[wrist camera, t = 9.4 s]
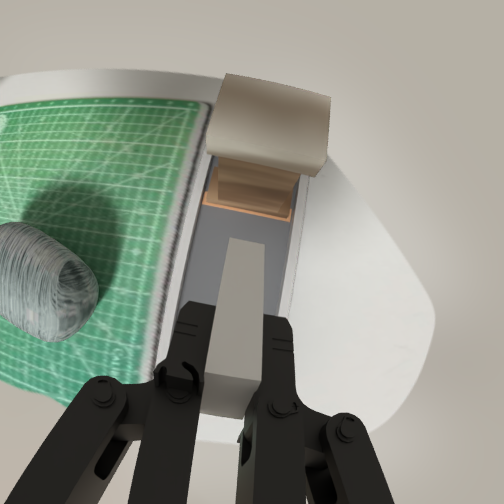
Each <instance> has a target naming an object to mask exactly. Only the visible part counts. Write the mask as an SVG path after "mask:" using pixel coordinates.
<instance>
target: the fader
mask: <svg viewBox="0 0 504 504" xmlns="http://www.w3.org/2000/svg"><path fill="white" fill-rule="evenodd" d="M330 102H331V97H328V96H325V95H321V94H318V93H314V92H311V91H307V90H303V89H299V88H295V87H291V86H287V85H283V84H278V83H274V82H269V81H265V80H260V79H255V78H250V77H245V76H239V75H233V74H226V75H225V78H224V81H223V84H222V87H221V89H220V92H219V95H218V98H217V101H216V104H215V107H214V110H213V114H212V117H211V120H210V123H209V126H208V129H207V133H206V149H207V154H209V155H214V156H218V167H215V166H214V169H213V173H212V177H211V181H210V185H209V189H208V193H207V197H206V202H208V203H214V204H219V205H224V206H229V207H234V208H239V209H244V210H248V211H253V212H258V213H263V214H267V215H272V216H277V217H281V218H286V219H287V217H288V216H289V213H290V206H291V200H292V193H293V187H294V185H295V183H296V182H297V180H298V179H299V177H300V175H301V174H303V175H307V176H311V177H315V176H316V175H317V173H318V172H319V170H320V169H321V168H322V166H323V165H324V164H325V162H326V158H327V146H328V132H329V120H330Z"/></svg>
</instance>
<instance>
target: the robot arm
mask: <svg viewBox="0 0 504 504" xmlns="http://www.w3.org/2000/svg"><path fill="white" fill-rule="evenodd" d="M264 252H265V244H260V243H255V242H250V241H245V240H240V239H235V238H229V243H228V248H227V253H226V259H225V264H224V269H223V274H222V279H221V284H220V290H219V295H218V300H217V305H216V306H214V305H209V304H204V303H199V302H194V301H188V302H187V303H186V304H185V305H184V306H183V307H182V308H181V309H180V311H179V315H178V318H177V322H176V325H175V328H174V332H173V335H172V338H171V342H170V345H169V349H168V352H167V356H166V359H164V360H163V361H161V362H160V363H159V364H157V366H156V368H155V370H154V371H153V373H154V379H153V380H151V381H149V382H146V383H141V384H121V383H120V382H119V381H118V380H116V379H115V378H112V377H109V376H96V377H94V378H91V379H90V380H89V381H87V382H86V383H85V384H84V385H83V387H82V388H81V390H80V391H79V392H78V394H77V395H76V396H75V398H74V399H73V401H72V402H71V403H70V405H69V406H68V408H67V409H66V410H65V412H64V413H63V415H62V416H61V417H60V419H59V420H58V422H57V423H56V425H55V426H54V428H53V429H52V430H51V432H50V433H49V435H48V436H47V438H46V439H45V441H44V442H43V443H42V445H41V447H40V448H39V449H38V451H37V453H36V454H35V455H34V457H33V458H32V460H31V462H30V463H29V465H28V466H27V468H26V469H25V471H24V472H23V474H22V475H21V477H20V479H19V480H18V482H17V483H16V485H15V487H14V488H13V490H12V491H11V493H10V495H9V496H8V498H7V500H6V502H5V503H4V504H98V502H99V500H100V498H101V497H102V495H103V493H104V491H105V489H106V488H107V486H108V484H109V482H110V481H111V479H112V477H113V475H114V474H115V472H116V470H117V468H118V467H119V465H120V463H121V461H122V460H123V458H124V456H125V454H126V453H127V451H128V449H129V447H130V446H131V444H132V442H133V441H137V440H141V444H140V448H139V453H138V457H137V461H136V466H135V470H134V475H133V479H132V484H131V489H130V494H129V499H128V504H187V496H188V488H189V481H190V473H191V467H192V460H193V453H194V445H195V439H196V433H197V426H198V420H199V413H203V414H208V415H214V416H220V417H227V418H234V419H241V420H242V419H243V417H244V415H245V418H244V428H243V430H242V431H241V433H240V435H239V437H238V440H237V443H240V451H239V464H238V477H237V491H236V504H306V497H307V500H308V504H394V501H393V498H392V495H391V493H390V490H389V487H388V485H387V482H386V479H385V477H384V474H383V471H382V469H381V466H380V464H379V461H378V458H377V456H376V453H375V451H374V448H373V446H372V443H371V441H370V438H369V435H368V433H367V430H366V428H365V426H364V424H363V423H362V421H361V420H360V419H359V418H358V417H356V416H355V415H353V414H350V413H338V414H336V415H334V416H332V417H330V416H327V415H325V414H322V413H319V412H316V411H314V410H312V409H310V408H308V407H307V406H306V405H304V404H303V403H302V401H301V400H300V399H299V397H298V395H297V392H296V385H295V366H294V353H293V351H294V348H293V332H292V328H291V326H290V324H289V322H288V320H287V318H286V317H280V316H274V315H268V314H263V301H264Z"/></svg>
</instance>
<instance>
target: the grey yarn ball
mask: <svg viewBox="0 0 504 504" xmlns="http://www.w3.org/2000/svg"><path fill="white" fill-rule="evenodd" d="M98 293H99V286H98V282H97V279H96V277H95V275H94V274H93V272H92V270H91V269H90V268H89V267H88V266H87V265H86V264H85V263H84V262H83V261H82V260H81V259H80V258H79V257H78V256H77V255H76V254H75V253H73V252H72V251H70V250H69V249H68V248H66V247H65V246H63V245H62V244H61V243H59V242H58V241H56V240H55V239H53V238H52V237H50V236H49V235H47V234H45V233H44V232H42V231H41V230H39V229H36V228H34V227H32V226H30V225H27V224H24V223H21V222H9V223H5V224H2V225H0V315H1V316H3V317H4V318H5V319H6V320H8V321H9V322H11V323H12V324H13V325H15V326H16V327H18V328H19V329H21V330H23V331H25V332H27V333H28V334H30V335H32V336H34V337H36V338H39V339H41V340H43V341H46V342H60V341H63V340H66V339H68V338H69V337H71V336H72V335H73V334H75V333H76V332H78V331H79V330H80V329H81V328H82V327H83V325H84V324H85V323H86V322H87V321H88V319H89V318H90V317H91V315H92V313H93V312H94V310H95V308H96V304H97V300H98Z"/></svg>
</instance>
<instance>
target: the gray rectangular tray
mask: <svg viewBox="0 0 504 504" xmlns="http://www.w3.org/2000/svg"><path fill="white" fill-rule="evenodd" d="M214 166H215V167H218V156H214V155H209V154H207V149H206V144H205V148H204V151H203V155H202V158H201V162H200V165H199V169H198V172H197V176H196V180H195V183H194V187H193V191H192V195H191V198H190V202H189V206H188V210H187V214H186V218H185V222H184V226H183V230H182V235H181V239H180V243H179V247H178V252H177V256H176V261H175V265H174V270H173V274H172V279H171V284H170V289H169V294H168V299H167V304H166V309H165V314H164V320H163V325H162V331H161V336H160V342H159V348H158V354H157V360H156V366H157V364H159V363H160V362H161V361H163V360H164V359H166V356H167V352H168V349H169V345H170V342H171V338H172V335H173V332H174V328H175V325H176V322H177V318H178V315H179V311H180V309H181V308H182V307H183V306H184V305H185V304H186V303H187V302H188V301H194V302H199V303H204V304H209V305H214V306H216V305H217V300H218V295H219V290H220V284H221V279H222V274H223V269H224V264H225V259H226V253H227V248H228V243H229V238H235V239H240V240H245V241H250V242H255V243H260V244H265V252H264V301H263V314H268V315H274V316H280V317H286V318H287V319H288V314H289V308H290V302H291V296H292V290H293V284H294V278H295V272H296V266H297V259H298V253H299V246H300V240H301V233H302V226H303V219H304V211H305V204H306V197H307V189H308V181H309V176H307V175H303V174H301V175H300V177H299V179H298V180H297V182H296V183H295V185H294V187H293V193H292V200H291V206H290V213H289V216H288V217H287V219H286V218H281V217H277V216H272V215H267V214H263V213H258V212H253V211H248V210H244V209H239V208H234V207H229V206H224V205H219V204H214V203H208V202H206V197H207V193H208V189H209V185H210V181H211V177H212V173H213V169H214ZM155 368H156V367H155Z"/></svg>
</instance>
